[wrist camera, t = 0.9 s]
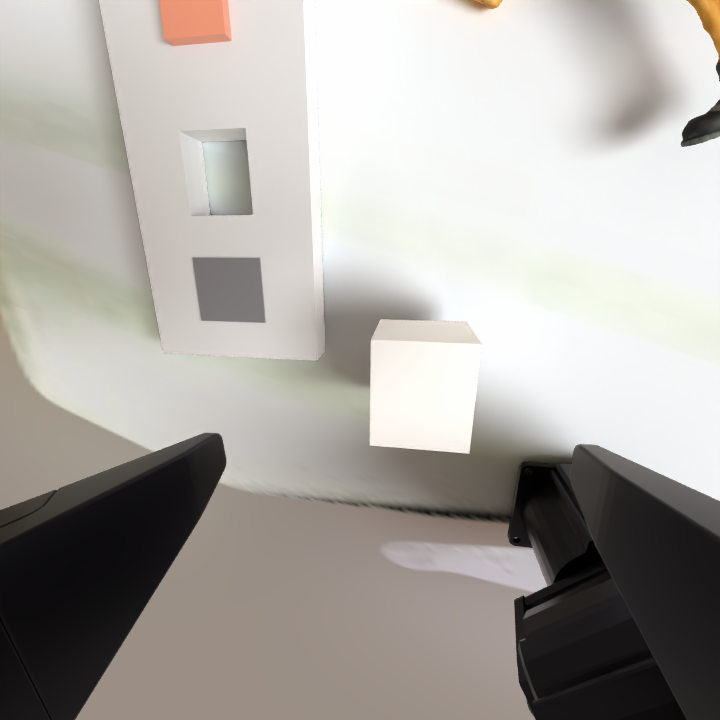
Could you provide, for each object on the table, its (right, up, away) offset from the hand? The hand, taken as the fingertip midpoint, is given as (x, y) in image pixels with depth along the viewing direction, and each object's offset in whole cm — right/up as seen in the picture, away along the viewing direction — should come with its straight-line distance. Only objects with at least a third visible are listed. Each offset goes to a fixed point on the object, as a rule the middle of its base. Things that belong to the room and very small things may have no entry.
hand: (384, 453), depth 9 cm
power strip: (-8, +13, +11) cm, 19 cm away
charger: (+3, +3, +13) cm, 13 cm away
